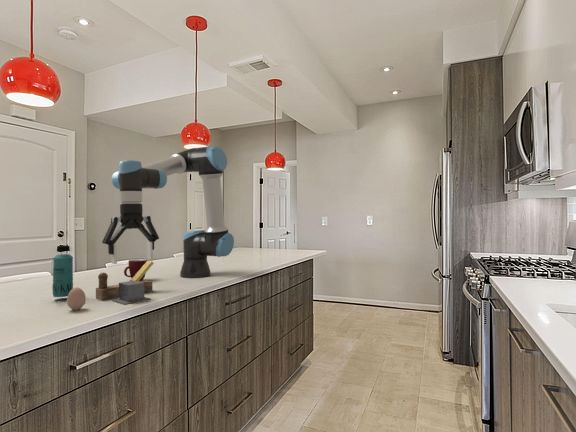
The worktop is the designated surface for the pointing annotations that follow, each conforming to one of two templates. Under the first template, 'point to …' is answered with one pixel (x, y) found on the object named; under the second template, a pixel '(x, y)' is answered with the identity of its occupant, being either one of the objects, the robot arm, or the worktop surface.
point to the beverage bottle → (62, 273)
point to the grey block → (131, 291)
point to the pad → (130, 302)
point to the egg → (76, 298)
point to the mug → (135, 267)
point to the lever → (142, 271)
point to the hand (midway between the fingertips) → (132, 261)
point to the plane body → (114, 288)
